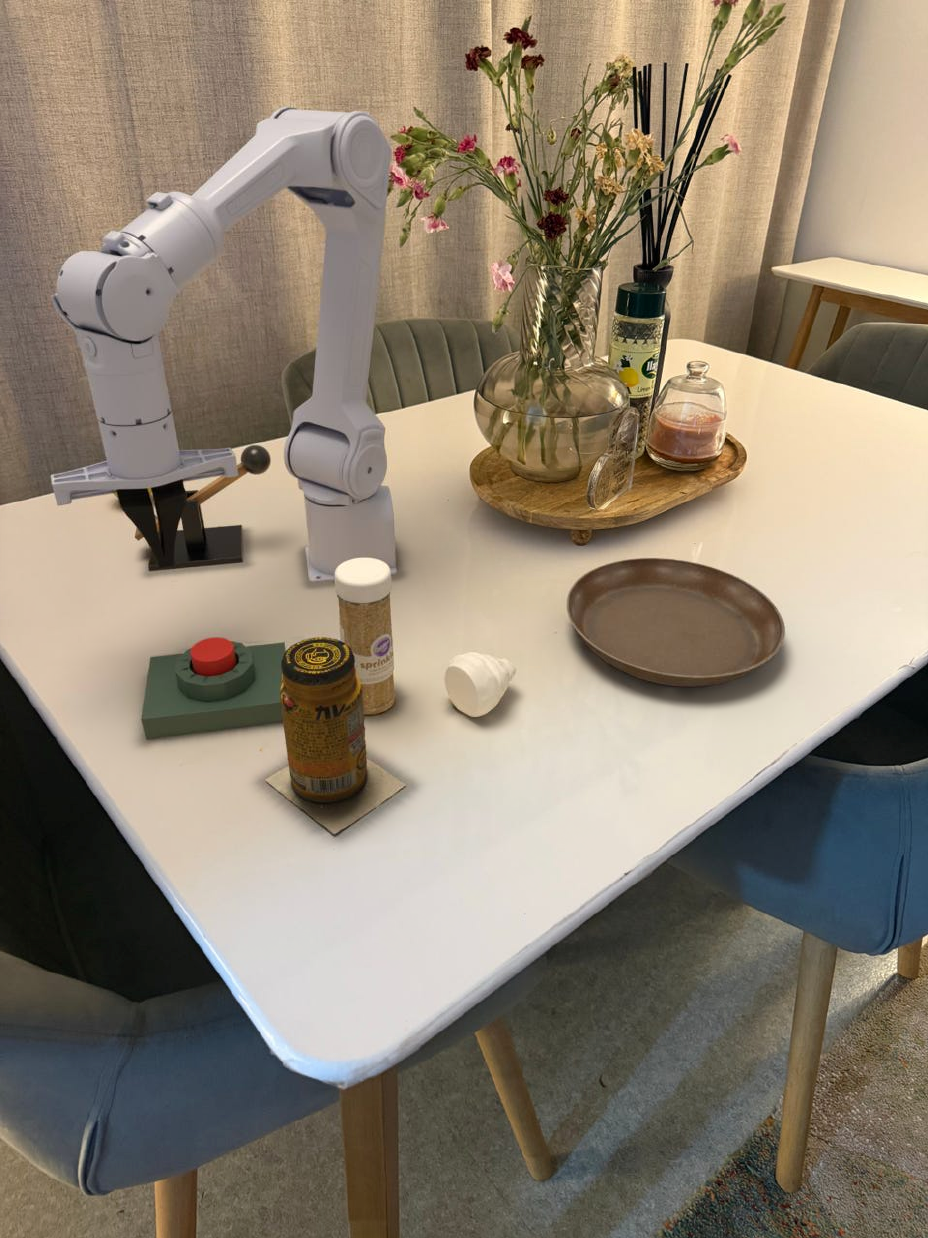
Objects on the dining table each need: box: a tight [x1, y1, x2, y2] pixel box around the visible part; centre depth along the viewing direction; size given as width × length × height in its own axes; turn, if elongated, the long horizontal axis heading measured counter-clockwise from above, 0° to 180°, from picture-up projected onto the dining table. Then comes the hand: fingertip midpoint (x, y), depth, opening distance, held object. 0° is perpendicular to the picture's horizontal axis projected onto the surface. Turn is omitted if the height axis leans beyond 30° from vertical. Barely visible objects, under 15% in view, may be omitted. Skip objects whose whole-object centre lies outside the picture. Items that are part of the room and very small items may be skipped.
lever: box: [134, 444, 272, 541], centre depth 98 cm, size 17×3×3 cm
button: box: [190, 636, 236, 677], centre depth 76 cm, size 4×4×2 cm
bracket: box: [147, 489, 244, 572], centre depth 99 cm, size 10×8×7 cm
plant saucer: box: [566, 557, 786, 688], centre depth 86 cm, size 21×21×3 cm
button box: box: [141, 640, 287, 740], centre depth 78 cm, size 12×9×4 cm
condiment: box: [265, 636, 407, 835], centre depth 66 cm, size 7×8×12 cm
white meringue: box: [444, 651, 517, 718], centre depth 77 cm, size 6×6×5 cm
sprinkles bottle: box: [334, 558, 397, 715], centre depth 75 cm, size 5×5×14 cm
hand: (165, 561), depth 78 cm, fingers closed
